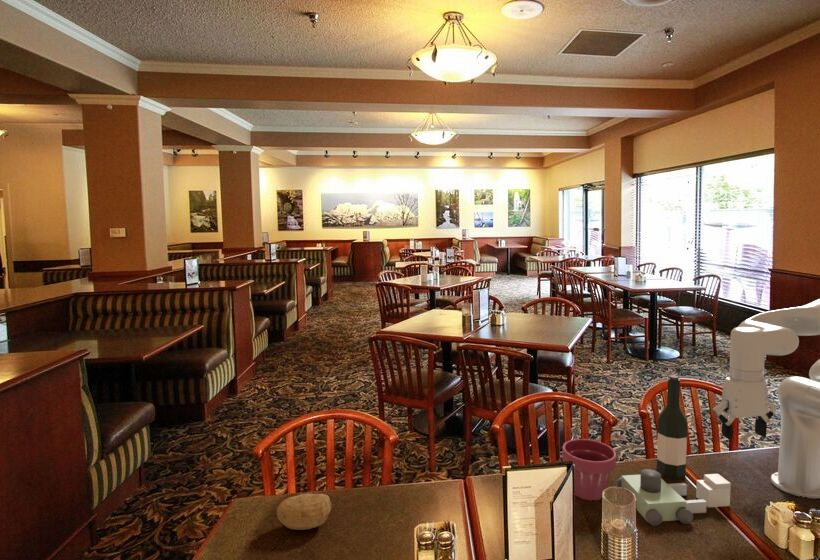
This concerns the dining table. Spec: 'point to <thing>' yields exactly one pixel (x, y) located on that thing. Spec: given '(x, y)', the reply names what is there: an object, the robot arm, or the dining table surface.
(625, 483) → the toy car
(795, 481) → the robot arm
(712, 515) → the dining table surface
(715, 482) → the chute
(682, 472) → the wine bottle
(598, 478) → the plant pot
